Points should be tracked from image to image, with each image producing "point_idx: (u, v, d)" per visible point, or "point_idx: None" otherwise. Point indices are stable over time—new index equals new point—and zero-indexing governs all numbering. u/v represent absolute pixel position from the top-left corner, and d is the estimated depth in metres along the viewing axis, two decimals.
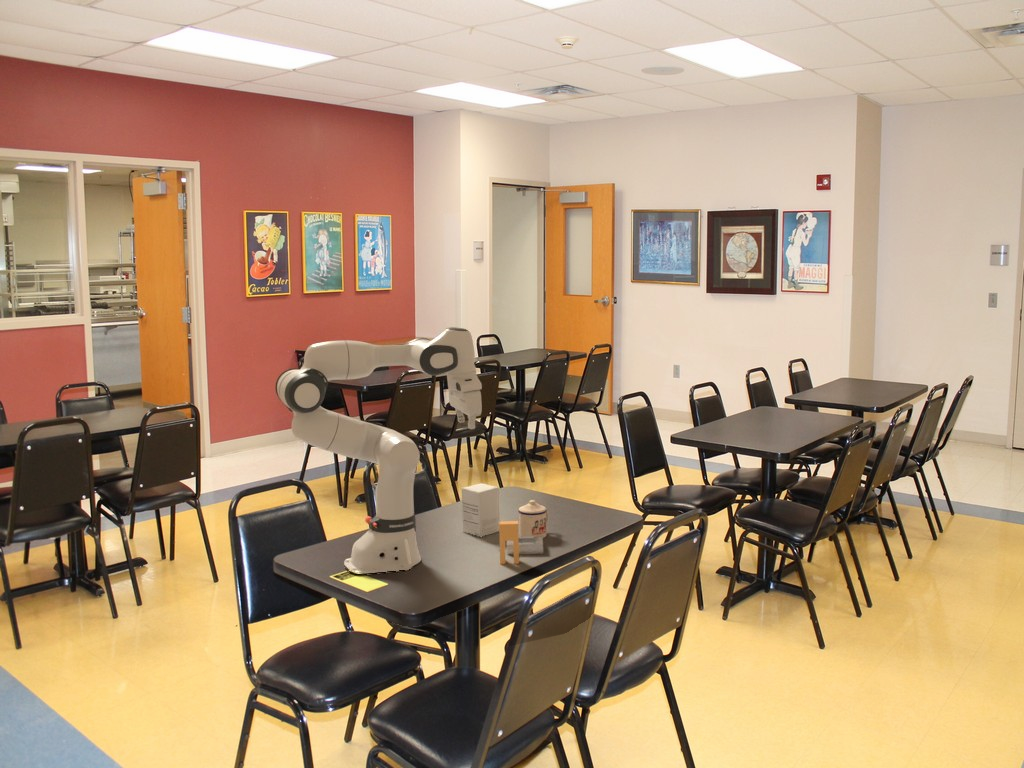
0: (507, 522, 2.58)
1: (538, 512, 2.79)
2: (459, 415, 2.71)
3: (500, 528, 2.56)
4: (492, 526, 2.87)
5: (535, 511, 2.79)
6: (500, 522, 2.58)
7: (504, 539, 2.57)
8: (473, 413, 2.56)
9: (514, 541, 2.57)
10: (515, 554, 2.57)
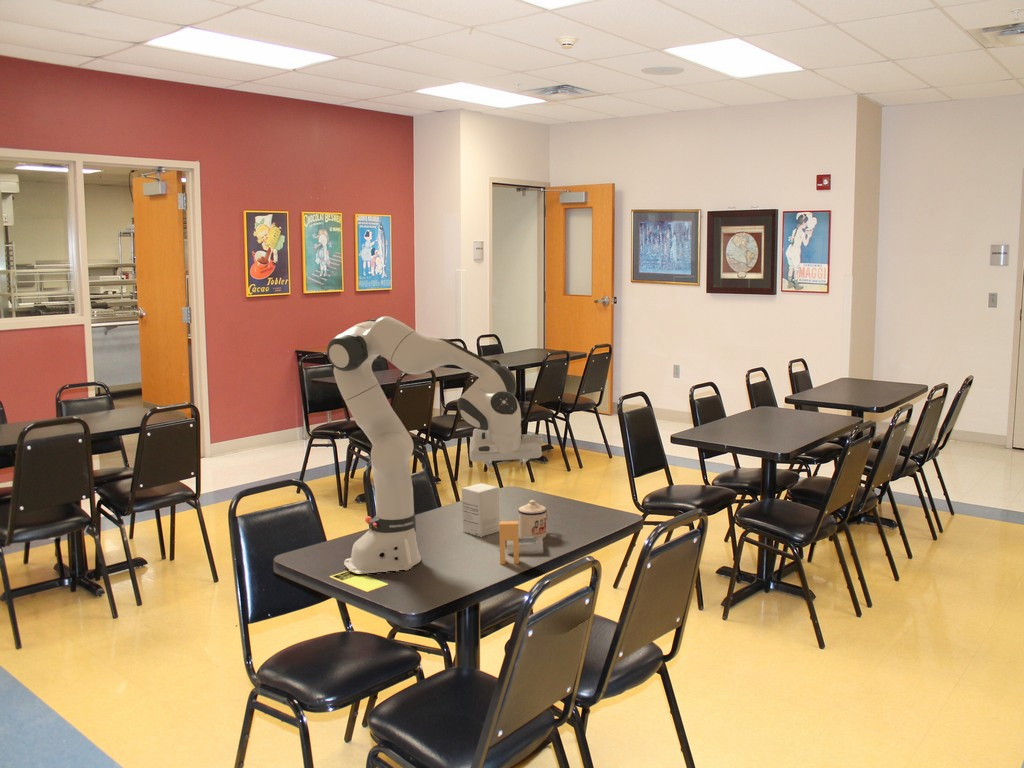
0: (507, 522, 2.58)
1: (538, 512, 2.79)
2: None
3: (500, 528, 2.56)
4: (492, 526, 2.87)
5: (535, 511, 2.79)
6: (500, 522, 2.58)
7: (504, 539, 2.57)
8: None
9: (514, 541, 2.57)
10: (515, 554, 2.57)
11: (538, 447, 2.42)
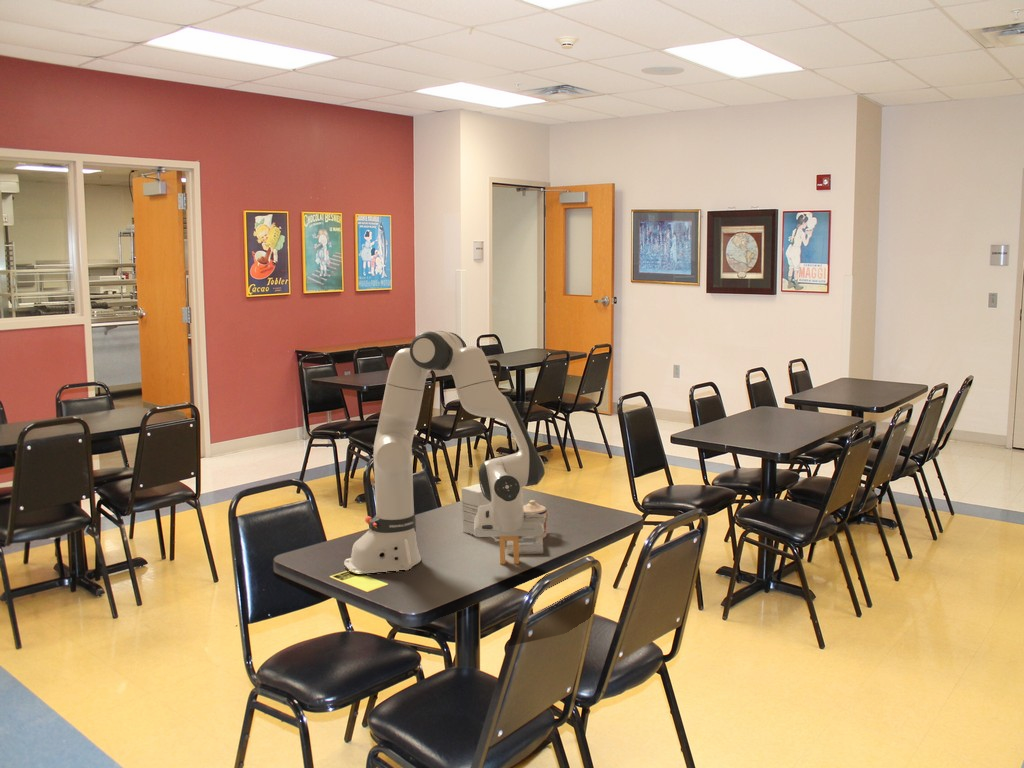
0: None
1: (538, 512, 2.79)
2: None
3: None
4: None
5: (535, 511, 2.79)
6: None
7: (504, 539, 2.57)
8: None
9: (514, 541, 2.57)
10: (515, 554, 2.57)
11: (540, 526, 2.50)
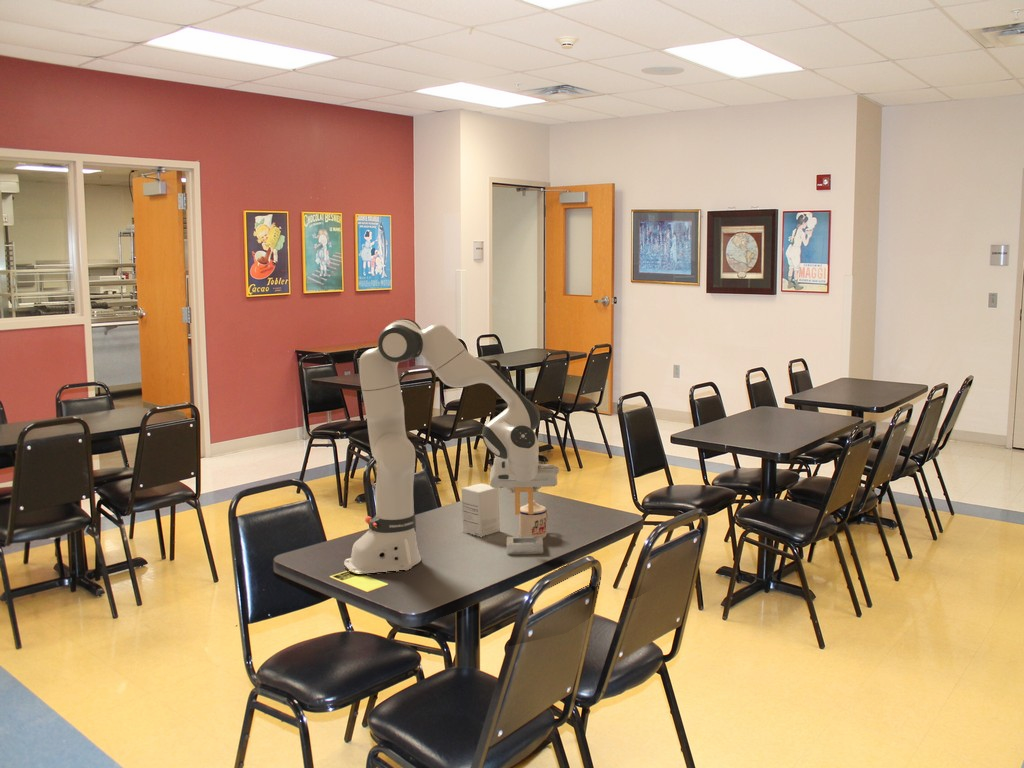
0: None
1: (538, 512, 2.79)
2: None
3: None
4: (492, 526, 2.87)
5: (535, 511, 2.79)
6: None
7: (519, 490, 2.66)
8: None
9: (529, 492, 2.66)
10: (530, 505, 2.67)
11: (554, 477, 2.59)
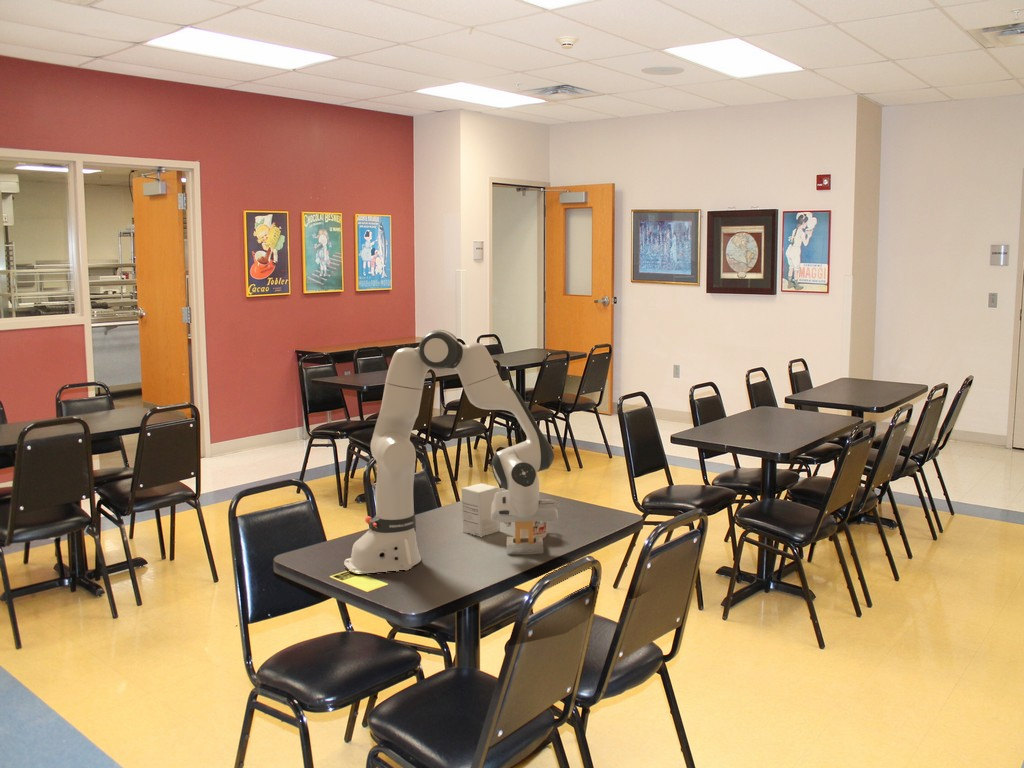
0: None
1: None
2: None
3: None
4: (492, 526, 2.87)
5: None
6: None
7: (519, 528, 2.68)
8: None
9: (529, 529, 2.68)
10: (530, 542, 2.68)
11: (554, 512, 2.61)
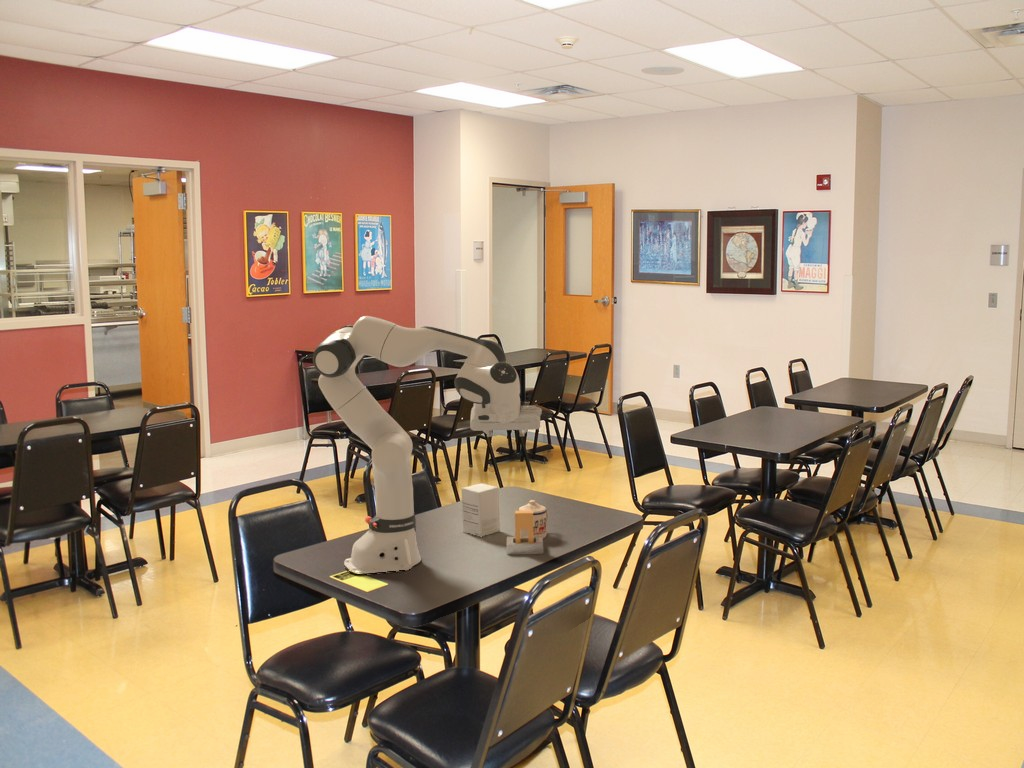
0: (522, 511, 2.69)
1: (538, 512, 2.79)
2: None
3: (516, 517, 2.67)
4: (492, 526, 2.87)
5: (535, 511, 2.79)
6: (515, 511, 2.69)
7: (519, 528, 2.68)
8: None
9: (529, 529, 2.68)
10: (530, 542, 2.68)
11: (537, 418, 2.49)
